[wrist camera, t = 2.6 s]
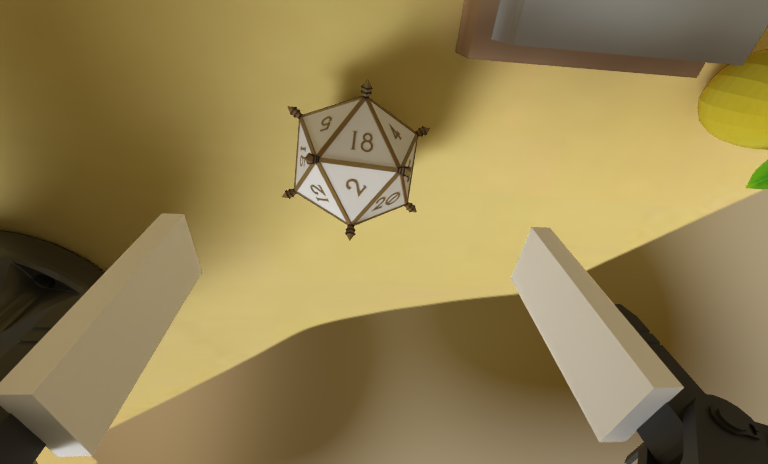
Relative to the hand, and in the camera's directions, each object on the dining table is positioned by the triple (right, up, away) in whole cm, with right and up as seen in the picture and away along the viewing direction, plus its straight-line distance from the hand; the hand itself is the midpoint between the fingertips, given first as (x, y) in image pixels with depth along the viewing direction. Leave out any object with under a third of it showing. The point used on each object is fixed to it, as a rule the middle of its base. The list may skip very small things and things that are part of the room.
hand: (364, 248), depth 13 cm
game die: (-1, +7, +10) cm, 13 cm away
